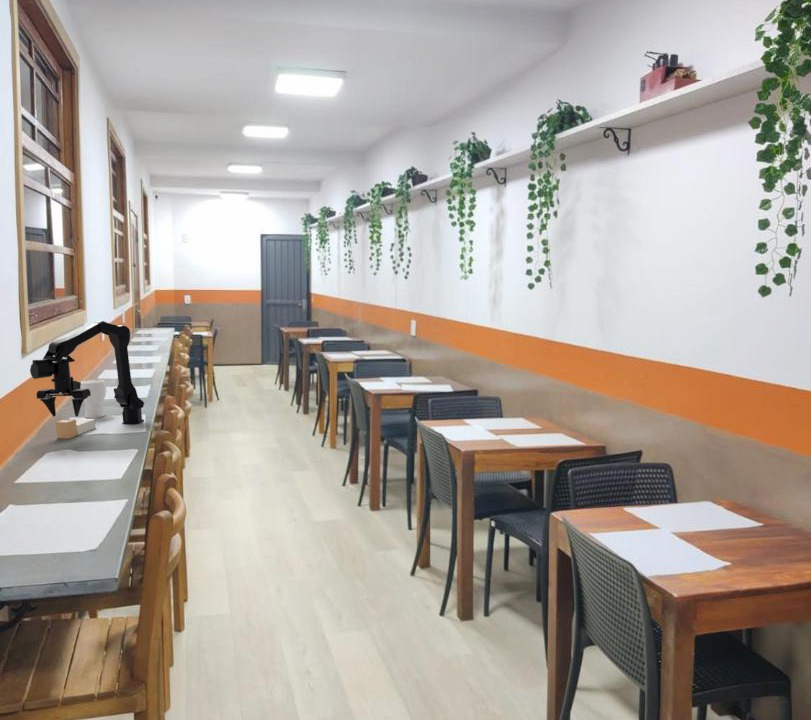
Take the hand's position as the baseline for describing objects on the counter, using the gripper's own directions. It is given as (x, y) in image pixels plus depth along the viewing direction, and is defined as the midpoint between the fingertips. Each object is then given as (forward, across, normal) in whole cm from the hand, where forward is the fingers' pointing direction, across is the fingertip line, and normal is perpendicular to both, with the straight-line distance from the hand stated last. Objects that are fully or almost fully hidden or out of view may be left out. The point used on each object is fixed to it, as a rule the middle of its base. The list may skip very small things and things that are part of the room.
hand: (65, 416), depth 280 cm
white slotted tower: (+8, 0, -9) cm, 12 cm away
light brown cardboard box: (+8, 0, 0) cm, 8 cm away
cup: (+8, +11, -37) cm, 39 cm away
